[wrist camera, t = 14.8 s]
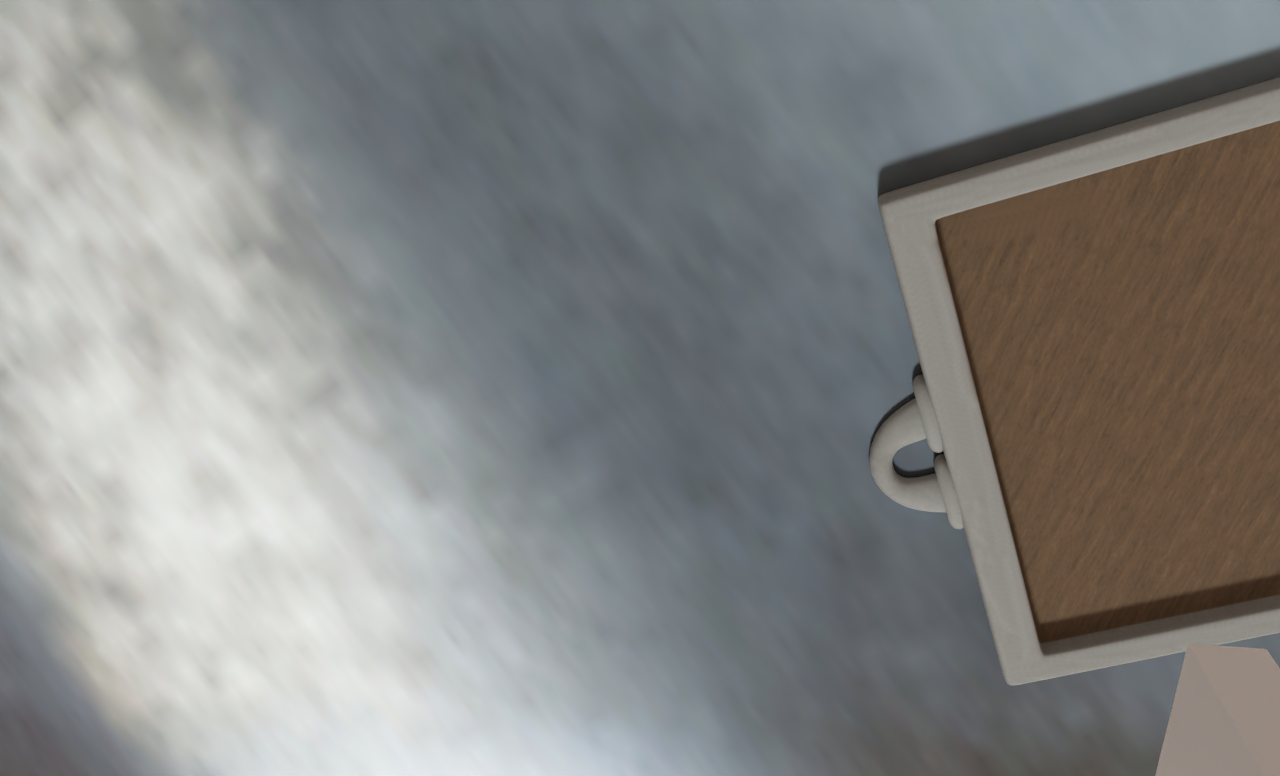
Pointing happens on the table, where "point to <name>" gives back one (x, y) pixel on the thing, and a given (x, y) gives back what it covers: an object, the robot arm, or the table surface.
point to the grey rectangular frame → (1103, 382)
